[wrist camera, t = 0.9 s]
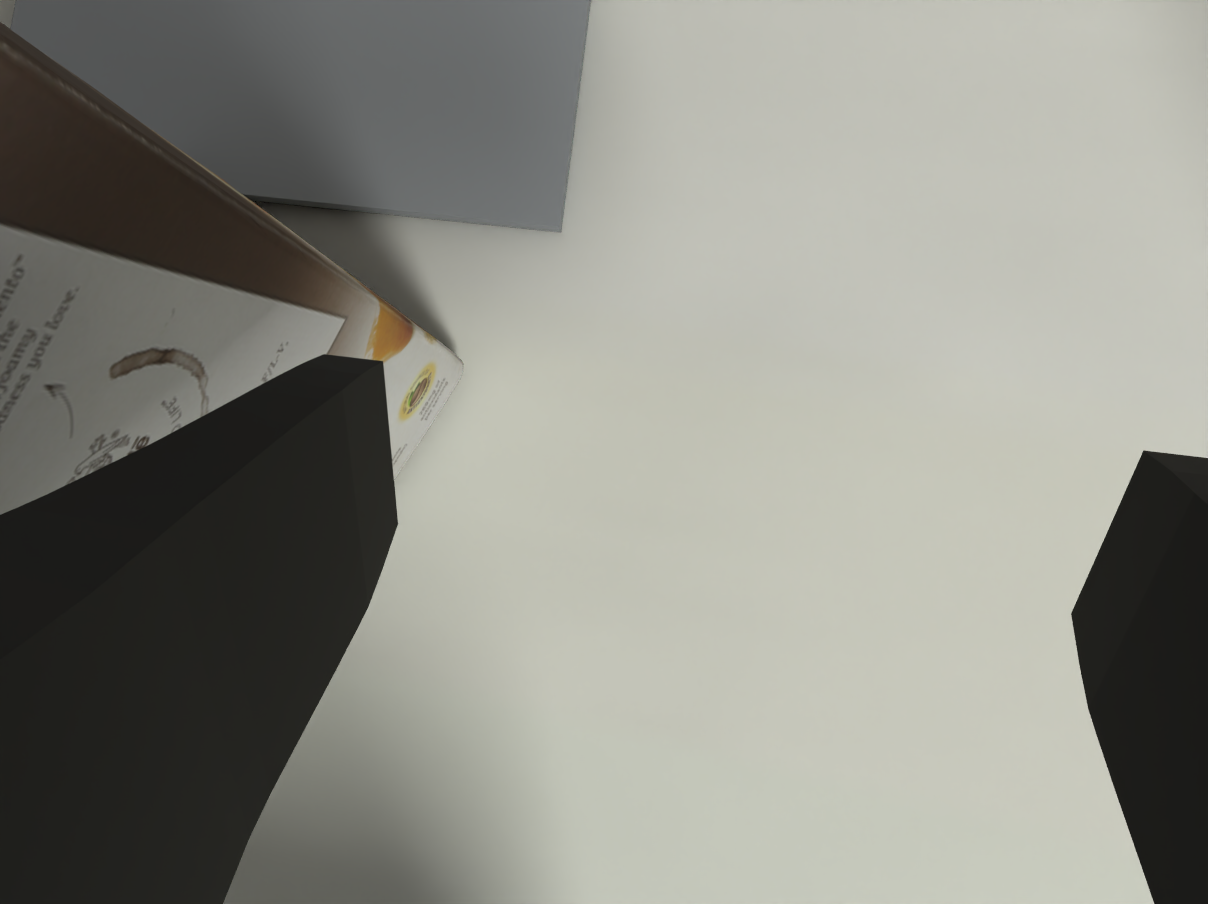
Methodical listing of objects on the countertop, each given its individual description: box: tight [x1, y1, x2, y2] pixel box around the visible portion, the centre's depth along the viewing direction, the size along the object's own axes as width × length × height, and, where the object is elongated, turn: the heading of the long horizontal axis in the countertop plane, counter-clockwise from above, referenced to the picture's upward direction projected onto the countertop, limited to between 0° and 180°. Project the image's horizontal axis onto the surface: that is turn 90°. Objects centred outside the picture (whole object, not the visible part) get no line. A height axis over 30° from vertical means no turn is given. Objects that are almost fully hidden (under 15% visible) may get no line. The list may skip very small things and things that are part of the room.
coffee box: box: [0, 22, 463, 515], centre depth 15 cm, size 9×6×16 cm
